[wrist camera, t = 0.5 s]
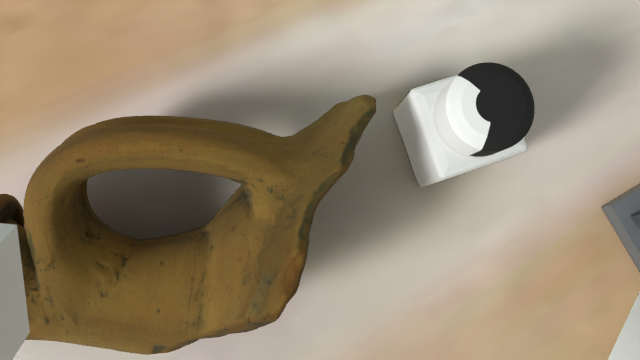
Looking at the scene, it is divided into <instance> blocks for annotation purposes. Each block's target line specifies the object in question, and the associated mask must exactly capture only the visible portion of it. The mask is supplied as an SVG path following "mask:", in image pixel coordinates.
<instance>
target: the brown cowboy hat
mask: <svg viewBox="0 0 640 360" xmlns="http://www.w3.org/2000/svg"><path fill="white" fill-rule="evenodd" d="M375 103H376V99H375V98H374V97H372V96H369V95H361V96H357V97H355V98H352V99H351V100H349V101H346V102H341V103H338V104H336V105H335V106H333V107H332V108H331V109H330V110H329V111H328V112H327V113H325V114H324V115H323V116H322V117H320V118H319V119H318V120H317V121H315V122H314V123H312V124H311V125H309V126H308V127H306V128H304V129H303V130H301V131H299V132H298V133H296V134H295V135H292V136H288V137H279V136H276V135H272V134H271V133H267V132H265V131H262V130H259V129H256V128H252V127H248V126H244V125H239V124H234V123H229V122H222V121H215V120H208V119H198V118H187V117H173V116H132V117H121V118H114V119H110V120H106V121H102V122H99V123H96V124H94V125H91V126H87V127H85V128H83V129H81V130H79V131H77V132H76V133H74V134H73V135H71V136H70V137H69V138H67V139H66V140H65V141H64V142H63V143H62V144H61V145H60V146H58V147H57V148H56V149H55V150H53V151H52V152H51V153H50V154H49V155H48V156H47V157H46V158H45V159H44V160H43V161H42V162H41V164H40V165H39V166H38V168H37V169H36V170H35V172H34V174H33V175H32V177H31V179H30V181H29V184H28V186H27V190H26V194H25V199H24V209H22V206H21V205H20V203H19V202H18V200H17V199H16V198H15V197H13V196H11V195H8V194H0V223H3V224H14V225H17V229H18V238H19V246H20V254H21V263H22V271H23V279H24V287H25V296H26V304H27V312H28V321H29V329H30V333H29V334H28V336H27V337H26V339H25V340H49V341H59V342H66V343H73V344H80V345H85V346H93V347H99V348H105V349H112V350H117V351H123V352H130V353H138V354H157V353H167V352H171V351H175V350H177V349H180V348H182V347H183V346H186V345H189V344H191V343H193V342H195V341H197V340H199V339H202V338H213V337H221V336H224V335H227V334H232V333H241V332H248V331H251V330H254V329H257V328H259V327H262V326H265V325H267V324H270V323H272V322H274V321H276V320H277V319H278V318H279V317H280V315H281V313H282V312H283V310H284V308H285V306H286V304H287V303H288V302H289V300H290V299H291V298H292V297H293V296H294V294H295V293H296V291H297V289H298V286H299V282H300V278H301V274H302V271H303V269H304V266H305V261H306V258H307V251H308V244H309V231H310V227H311V224H312V220H313V216H314V212H315V209H316V207H317V205H318V204H319V202H320V201H321V199H322V198H323V197H324V196H325V194H326V193H327V192H328V191H329V190H330V188H331V187H332V186H333V185H334V184H335V183H336V181H337V180H338V179H339V178H340V177H341V176H342V175H343V174H344V173H345V172H346V171H347V170H348V168H349V166H350V164H351V162H352V160H353V158H354V150H355V146H356V144H357V142H358V141H359V139H360V137H361V135H362V133H363V131H364V129H365V128H366V126H367V125H368V123H369V121H370V120H371V118H372V117H373V116H374V114H375V112H376V105H375ZM138 168H147V169H175V170H184V171H193V172H201V173H206V174H211V175H216V176H221V177H225V178H228V179H231V180H232V181H235V182H238V183H240V184H242V185H241V186H240V187H239V188H238V189H237V190H236V192H235V193H234V194H233V195H232V197H231V198H230V199H229V200H228V202H227V203H226V204H225V205H224V206H223V207H222V208H221V209H220V210H219V211H218V212H217V214H216V215H215V216H214V218H213V219H212V220H211V221H210V222H209V223H208V224H207V225H206V226H203V227H200V228H197V229H194V230H191V231H188V232H184V233H180V234H176V235H172V236H168V237H163V238H155V239H142V240H137V239H133V238H131V237H128V236H125V235H122V234H119V233H117V232H115V231H114V230H113V229H111V228H110V227H109V226H108V225H106V224H104V223H103V222H102V221H101V220H100V219H99V218H98V216H97V215H96V214H95V213H94V211H93V210H92V208H91V206H90V204H89V201H88V197H87V179H88V178H90V177H92V176H94V175H97V174H100V173H104V172H108V171H114V170H122V169H138ZM23 212H24V216H23ZM24 224H25V228H24Z"/></svg>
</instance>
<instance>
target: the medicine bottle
mask: <svg viewBox="0 0 640 360" xmlns="http://www.w3.org/2000/svg"><path fill="white" fill-rule="evenodd" d="M393 113H394V116H395V119H396V122H397V125H398V128H399V131H400V133H401V136H402V139H403V142H404V145H405V148H406V151H407V153H408V156H409V159H410V162H411V165H412V168H413V171H414V173H415V176H416V179H417V182H418V185H419V186H420V187H425V186H428V185H431V184H434V183H437V182H440V181H443V180H446V179H449V178H452V177H455V176H458V175H461V174H464V173H467V172H470V171H473V170H476V169H479V168H482V167H485V166H488V165H491V164H494V163H496V162H499V161H502V160H505V159H508V158H510V157H513V156H516V155H519V154H522V153H524V152H526V151H527V149H528V145H527V143H526V140H525V135H526V134H527V132H528V131H529V129H530V127H531V125H532V122H533V118H534V100H533V96H532V93H531V91H530V88H529V87H528V85H527V83H526V82H525V81H524V79H523V78H522V77H521V76H520V75H519V74H518V73H516V72H515V71H514V70H512V69H510V68H509V67H506V66H504V65H501V64H497V63H479V64H476V65H472V66H470V67H468V68H466V69H465V70H463V71H462V72H461V73H460V74H457V75H454V76H451V77H448V78H445V79H442V80H438V81H435V82H432V83H429V84H426V85H423V86H420V87H416V88H413V89H412V90H410V91H409V93H408V94H407V95H406V96H405V97H404V99H403V100H402V101H401V102H400V103H399V104H398V106H397V107H396V108H395V109H394V111H393Z"/></svg>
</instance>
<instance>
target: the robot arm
mask: <svg viewBox="0 0 640 360" xmlns="http://www.w3.org/2000/svg"><path fill="white" fill-rule="evenodd" d="M29 333H30V329H29V321H28V312H27V304H26V296H25V287H24V279H23V271H22V263H21V254H20V246H19V238H18V229H17V225H14V224H3V223H0V360H12V359H13V357H14V356H15V354H16V353H17V351H18V350H19V348H20V347H21V345H22V344H23V342H24V340H25V339H26V337H27V336H28V334H29ZM608 360H640V292H639V294H638V297H637V299H636V301H635V303H634V305H633V307H632V309H631V312H630V314H629V316H628V318H627V320H626V322H625V324H624V326H623V329H622V331H621V333H620V335H619V337H618V339H617V341H616V343H615V346H614V348H613V350H612V352H611V354H610V356H609V358H608Z"/></svg>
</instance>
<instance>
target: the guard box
mask: <svg viewBox="0 0 640 360" xmlns="http://www.w3.org/2000/svg"><path fill="white" fill-rule="evenodd" d="M601 208H602V209H603V211H604V213H605V214H606V216H607V218H608V219H609V221H610V223H611V225H612V226H613V228H614V230H615V231H616V233H617V235H618V236H619V238H620V240H621V241H622V243H623V245H624V246H625V248H626V250H627V251H628V253H629V255H630V256H631V258H632V260H633V261H634V263H635V265H636V266H637V268H638V270H639V272H640V184H639V185H637V186H635V187H634V188H632V189H630V190H629V191H627V192H625V193H624V194H622V195H620V196H619V197H617V198H615V199H614V200H612V201H610V202H609V203H607V204H605V205H603V206H602V207H601Z"/></svg>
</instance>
